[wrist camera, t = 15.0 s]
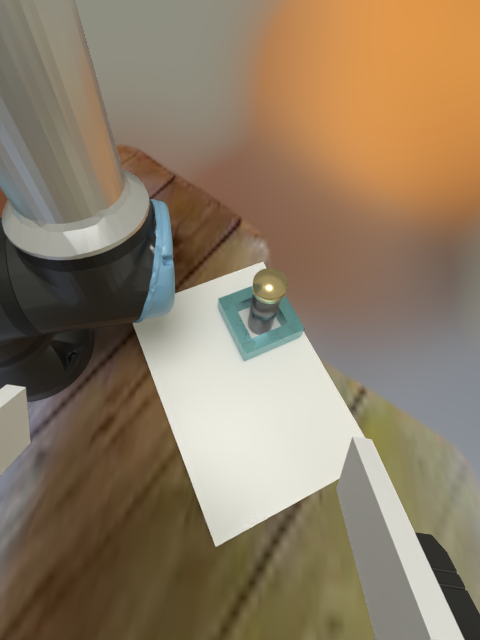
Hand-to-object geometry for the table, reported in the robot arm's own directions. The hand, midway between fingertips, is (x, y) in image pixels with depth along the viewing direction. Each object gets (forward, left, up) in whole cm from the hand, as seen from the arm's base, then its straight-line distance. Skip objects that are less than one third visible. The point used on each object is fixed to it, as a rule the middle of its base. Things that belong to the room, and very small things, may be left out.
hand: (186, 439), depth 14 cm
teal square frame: (-15, +14, -31) cm, 37 cm away
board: (-8, +9, -32) cm, 34 cm away
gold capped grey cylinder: (-14, +14, -31) cm, 37 cm away
